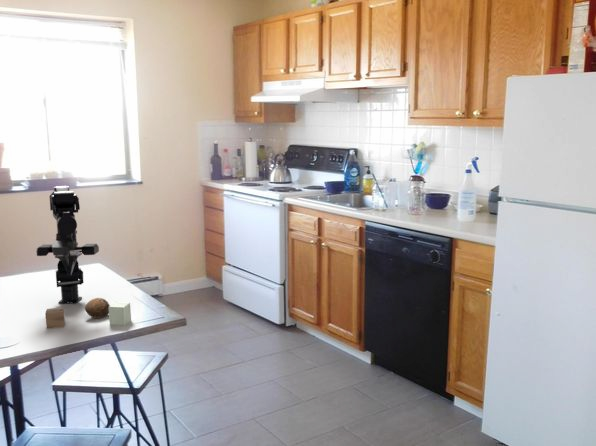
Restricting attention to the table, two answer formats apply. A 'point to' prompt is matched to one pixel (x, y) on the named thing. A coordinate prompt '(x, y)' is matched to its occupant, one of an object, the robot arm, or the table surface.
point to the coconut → (97, 308)
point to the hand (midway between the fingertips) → (69, 274)
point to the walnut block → (55, 317)
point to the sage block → (119, 313)
